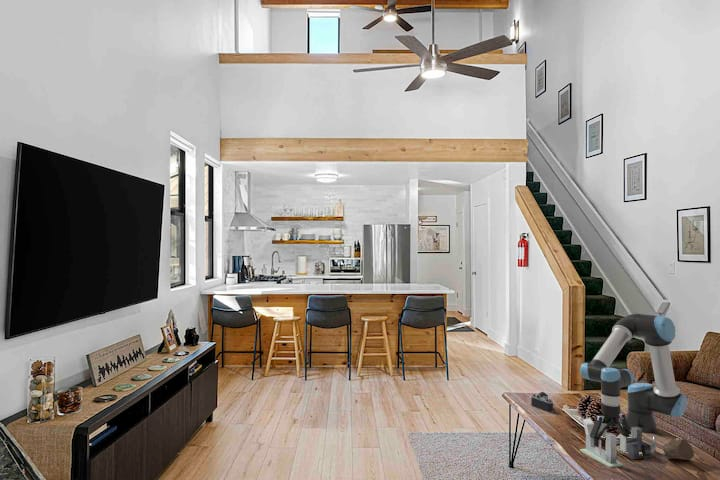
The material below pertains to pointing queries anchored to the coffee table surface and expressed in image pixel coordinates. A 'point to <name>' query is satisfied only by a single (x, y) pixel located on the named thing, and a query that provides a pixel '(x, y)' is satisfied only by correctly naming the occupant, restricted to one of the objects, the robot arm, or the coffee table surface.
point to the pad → (601, 459)
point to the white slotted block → (606, 454)
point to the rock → (678, 449)
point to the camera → (542, 402)
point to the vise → (638, 445)
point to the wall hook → (590, 427)
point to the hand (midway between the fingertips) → (610, 452)
